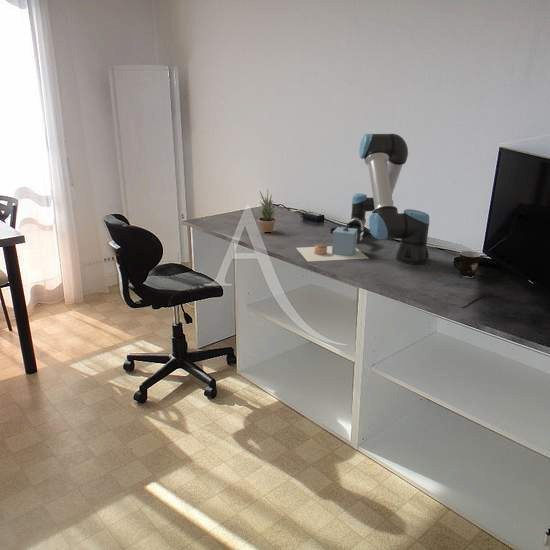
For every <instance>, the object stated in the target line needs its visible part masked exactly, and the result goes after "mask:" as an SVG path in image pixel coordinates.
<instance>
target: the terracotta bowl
mask: <svg viewBox="0 0 550 550" xmlns="http://www.w3.org/2000/svg"><path fill="white" fill-rule="evenodd" d="M314 247H315V249H314V254H316V255H326V254H327V245H325V244H316V245H314Z"/></svg>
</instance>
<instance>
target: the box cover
mask: <svg viewBox="0 0 550 550" xmlns="http://www.w3.org/2000/svg"><path fill="white" fill-rule="evenodd" d="M336 227H337V228H336V229H335V230H334V231H333V235H332V245H331V246H332V254H337V255H346V256H353V255H354V253H355V252H356V248H357V243H358V234H357V231H358V229H354V228H347V227H345V226H343V227H344V228H343V227H338V226H336Z"/></svg>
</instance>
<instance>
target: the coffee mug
mask: <svg viewBox="0 0 550 550" xmlns="http://www.w3.org/2000/svg"><path fill="white" fill-rule="evenodd" d="M481 256H482V254H481V253H479V252H477V251H473V250H472V251H471V250H462V251H459V257H456V258H454V260H453V266H454V268H456V269H457V270H458V272H459V273H458V274H460V275H462V276H469V277H472V276H475V277H476V274H477V270H478V267H479V263H480V260H481V258H482V257H481ZM457 260H459V266H457V265H456V262H457Z"/></svg>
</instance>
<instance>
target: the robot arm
mask: <svg viewBox="0 0 550 550" xmlns="http://www.w3.org/2000/svg"><path fill="white" fill-rule="evenodd" d="M358 151H359V152H358V153H359V158H360V159H362V160H364V164H365V165H367V166H368V170H369V177H370V183H371V185H370V186H371V193H372V197H368V196H367V194H366V193H354V194H353V195H352V201H351V215H350V216H351V218H350V221H349V222H348V223H347V224H346V226H343V225H338V226H335V227H334V226H333V227H331V228H330V234H331V235H332V236H333V231H334V230H335V229H336V228H337V227H343V228H344V227H347V228H354V229H358V231H357V235H359V241H362V240H363V239H365V238H366V237H367V238H370V237H371V236H372V237H373V238H374V239H377V240H400V243H399V246H398V248H397V250H396V253H395V259H396V260H397V261H398V262H400V261H401V263H403V262H405V263H404V264H408V263H413V264H412V265H423V264H422V263H424V264H427V263H428V262H429V260H430V254H429V251H428V245H427V243H428V234H429V229H430V228H429V227H430V215H429V213H427V212H425V211H421V210H417V209H411V208H409V209H408V208H407V209H404V210H403V213H402V212H401V213H399V212H398V207H396V206H395V205H394V199H393V193H394V190H395V188H396V185H397V182H398V180H399V177H400V173H401V171H402V167H403V166H404V165H405V163H406V162H407V160H408V155H409V150H408V145H407V142H406V140H405V139H404V138H403V137H402V136H401V135H399V134H396V133H365V134H364V135H362V137H361V140H360V143H359V150H358ZM392 199H393V200H392ZM366 212H371V214H370V215H369V219H368V226H369V230H368V229H367V228H366V227H365V225H366V223H367V222H366V220H367V219H366ZM370 235H371V236H370ZM426 262H427V263H426Z"/></svg>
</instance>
